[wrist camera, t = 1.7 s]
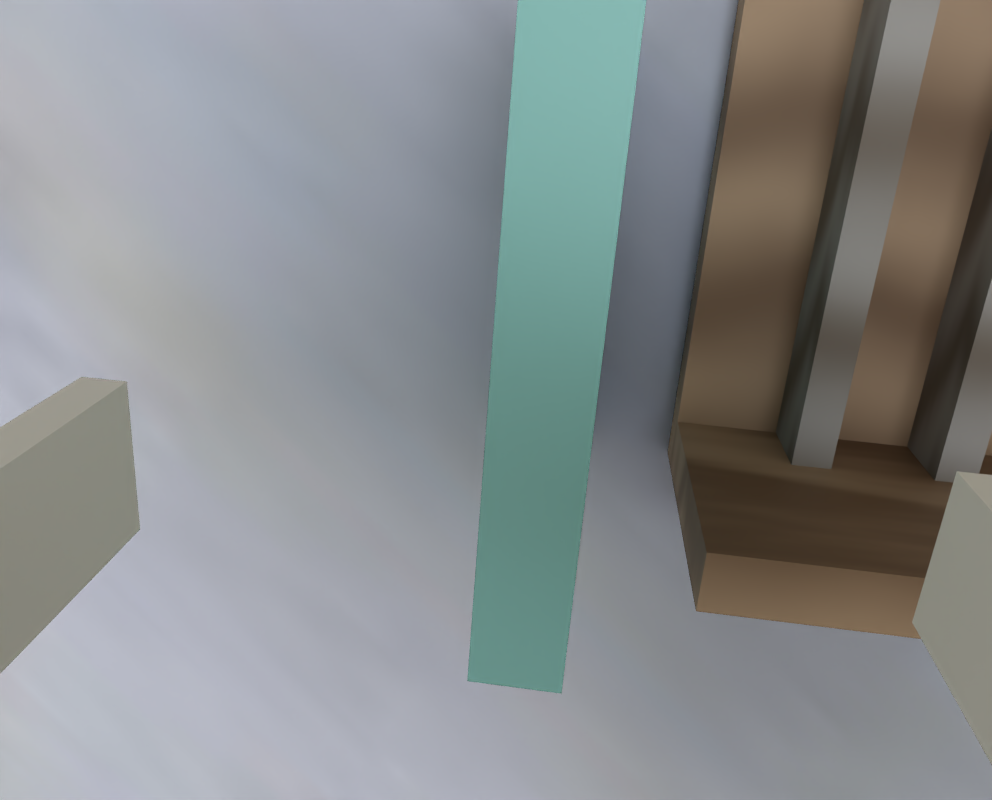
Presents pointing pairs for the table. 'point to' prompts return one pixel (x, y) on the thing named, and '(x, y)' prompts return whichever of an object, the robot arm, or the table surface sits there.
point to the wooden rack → (838, 311)
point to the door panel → (550, 326)
